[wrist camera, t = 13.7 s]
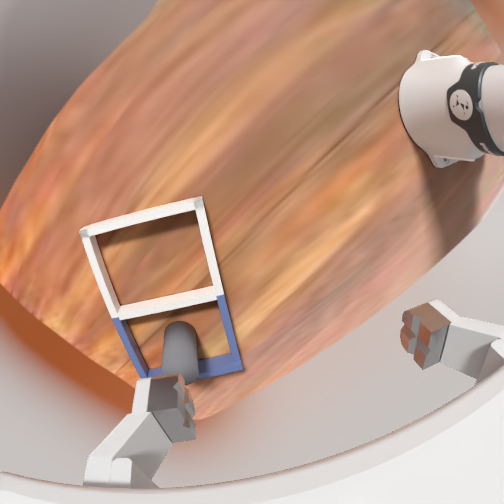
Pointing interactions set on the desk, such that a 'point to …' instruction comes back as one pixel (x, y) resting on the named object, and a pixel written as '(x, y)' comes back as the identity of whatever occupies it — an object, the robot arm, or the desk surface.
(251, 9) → the desk surface
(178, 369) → the smooth grey pebble
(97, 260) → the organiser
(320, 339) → the desk surface
